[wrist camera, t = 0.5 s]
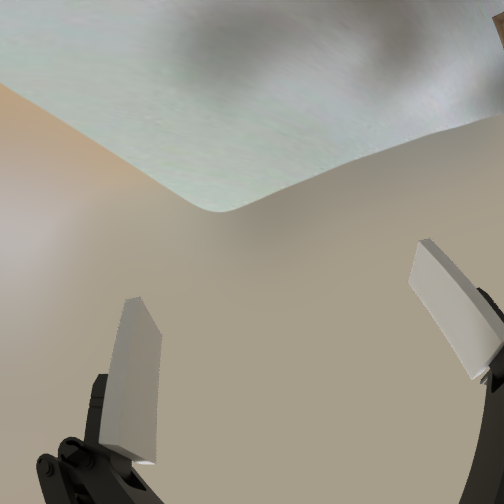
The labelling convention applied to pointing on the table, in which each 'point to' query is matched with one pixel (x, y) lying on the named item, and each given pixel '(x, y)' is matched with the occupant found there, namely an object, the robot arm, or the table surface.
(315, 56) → the table surface
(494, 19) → the walnut stand
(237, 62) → the table surface
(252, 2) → the table surface
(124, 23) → the table surface
